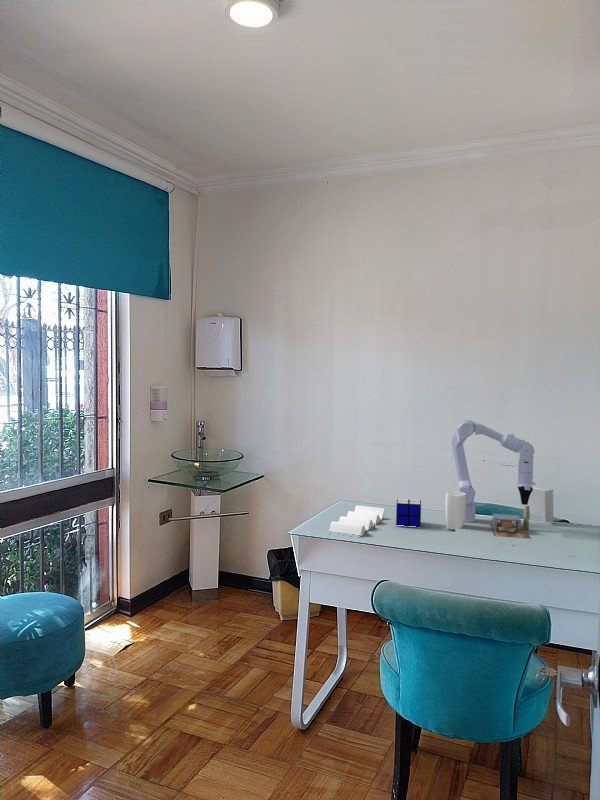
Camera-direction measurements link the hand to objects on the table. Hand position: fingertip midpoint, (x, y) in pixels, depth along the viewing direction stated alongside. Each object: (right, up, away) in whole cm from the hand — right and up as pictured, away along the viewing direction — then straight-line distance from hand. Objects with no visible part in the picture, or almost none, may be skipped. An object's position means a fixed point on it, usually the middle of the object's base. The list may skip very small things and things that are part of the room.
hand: (524, 504), depth 259 cm
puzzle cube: (-47, -10, +5) cm, 49 cm away
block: (-10, -9, -7) cm, 15 cm away
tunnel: (-10, -9, -7) cm, 15 cm away
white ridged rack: (-69, -10, +2) cm, 70 cm away
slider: (-7, -9, -8) cm, 14 cm away
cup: (-29, -10, -2) cm, 31 cm away
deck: (-9, -11, -8) cm, 16 cm away
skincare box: (+12, -10, +13) cm, 20 cm away
